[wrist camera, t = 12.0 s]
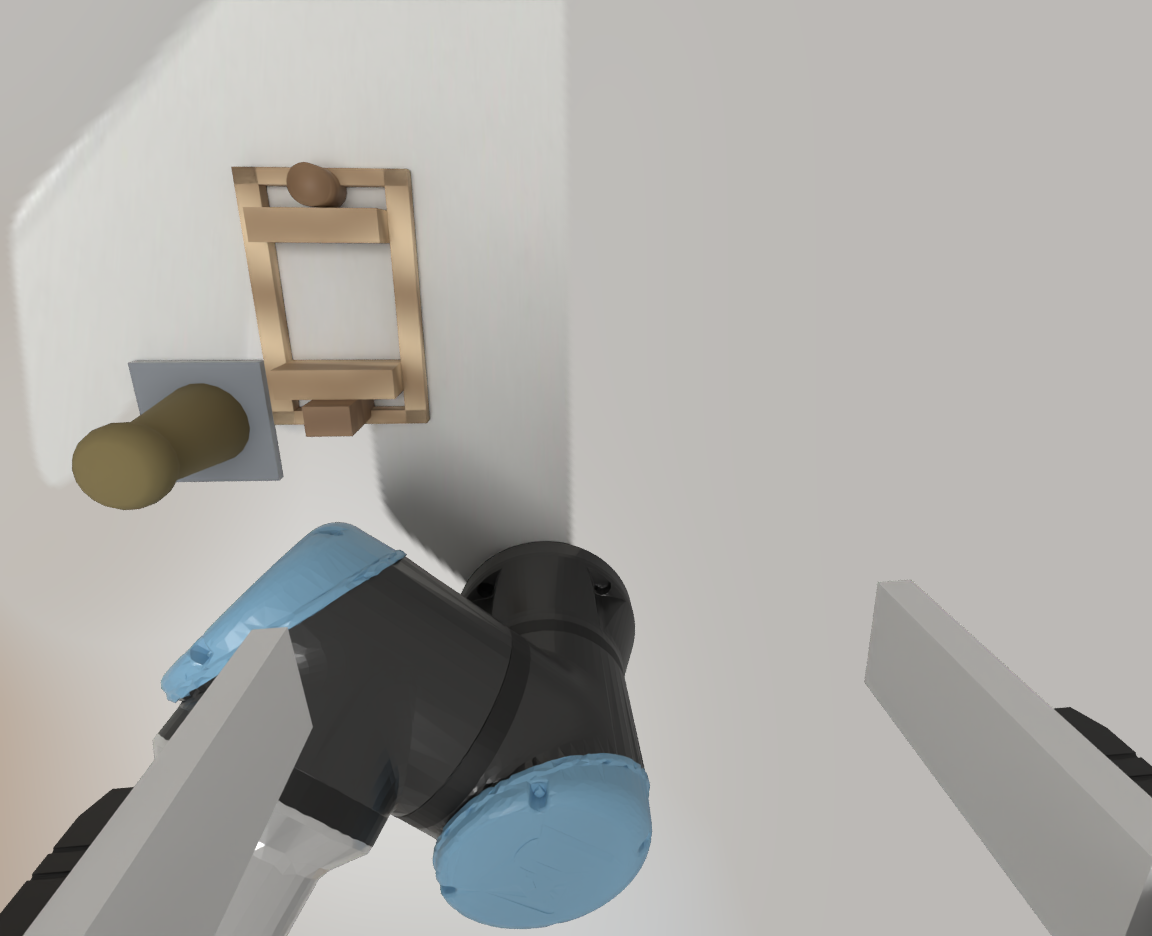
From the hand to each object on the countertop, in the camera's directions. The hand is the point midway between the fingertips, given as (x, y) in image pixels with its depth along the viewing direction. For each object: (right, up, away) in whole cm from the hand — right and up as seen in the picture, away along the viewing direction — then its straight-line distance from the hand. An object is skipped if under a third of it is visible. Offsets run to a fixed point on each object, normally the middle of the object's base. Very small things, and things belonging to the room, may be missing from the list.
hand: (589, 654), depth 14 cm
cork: (-27, +7, +31) cm, 42 cm away
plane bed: (-17, +16, +30) cm, 37 cm away
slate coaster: (-27, +8, +32) cm, 43 cm away
